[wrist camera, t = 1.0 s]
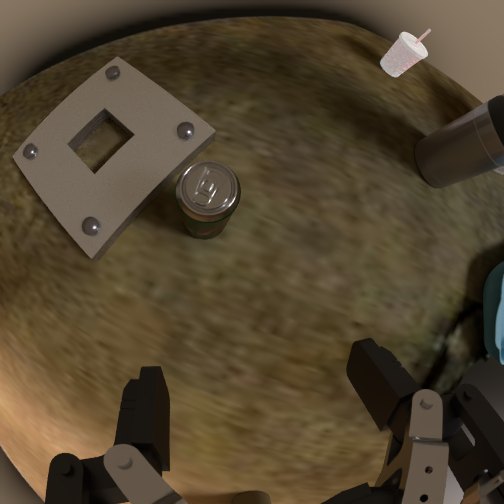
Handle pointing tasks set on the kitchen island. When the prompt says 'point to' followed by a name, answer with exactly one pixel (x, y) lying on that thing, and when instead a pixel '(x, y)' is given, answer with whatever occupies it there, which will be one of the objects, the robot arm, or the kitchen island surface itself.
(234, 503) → the cork
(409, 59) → the beverage cup
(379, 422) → the robot arm
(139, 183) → the socket plate
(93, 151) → the kitchen island surface
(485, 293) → the casserole dish
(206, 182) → the soda can
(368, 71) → the kitchen island surface
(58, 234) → the kitchen island surface
